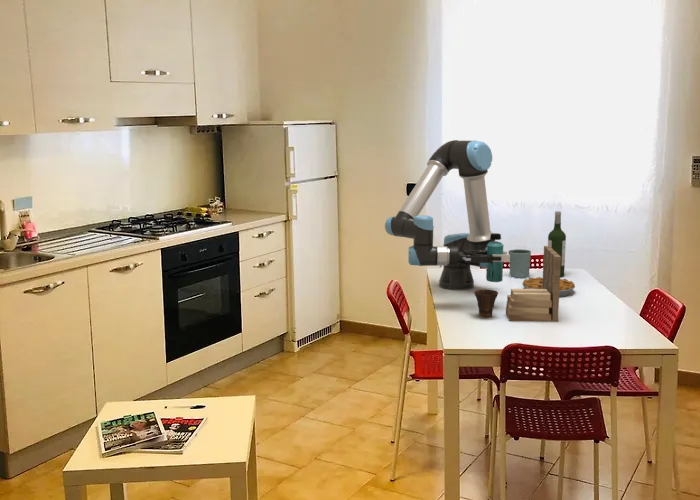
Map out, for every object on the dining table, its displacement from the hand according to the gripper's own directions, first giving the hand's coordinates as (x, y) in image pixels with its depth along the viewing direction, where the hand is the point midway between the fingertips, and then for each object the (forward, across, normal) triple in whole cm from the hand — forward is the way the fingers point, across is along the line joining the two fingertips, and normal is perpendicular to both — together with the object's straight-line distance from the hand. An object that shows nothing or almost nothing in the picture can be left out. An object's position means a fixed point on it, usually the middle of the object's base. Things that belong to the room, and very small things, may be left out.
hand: (508, 256), depth 289 cm
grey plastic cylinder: (+14, -55, -20) cm, 60 cm away
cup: (-10, +13, -20) cm, 26 cm away
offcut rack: (+7, +9, -20) cm, 23 cm away
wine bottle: (+31, -56, -20) cm, 68 cm away
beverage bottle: (-5, 0, -11) cm, 12 cm away
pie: (+22, -26, -20) cm, 39 cm away
